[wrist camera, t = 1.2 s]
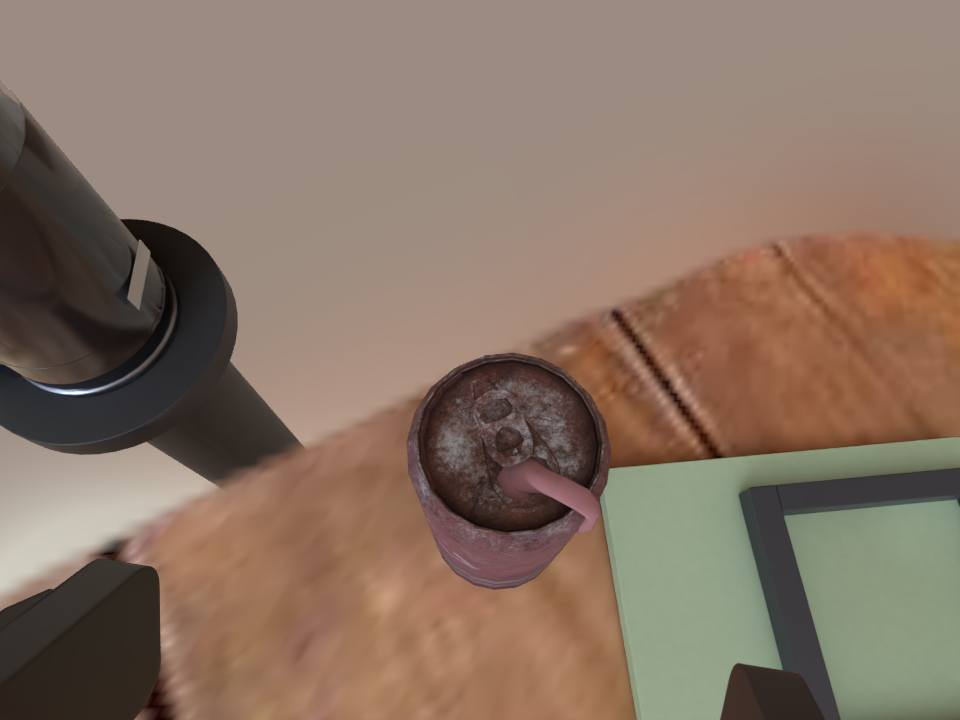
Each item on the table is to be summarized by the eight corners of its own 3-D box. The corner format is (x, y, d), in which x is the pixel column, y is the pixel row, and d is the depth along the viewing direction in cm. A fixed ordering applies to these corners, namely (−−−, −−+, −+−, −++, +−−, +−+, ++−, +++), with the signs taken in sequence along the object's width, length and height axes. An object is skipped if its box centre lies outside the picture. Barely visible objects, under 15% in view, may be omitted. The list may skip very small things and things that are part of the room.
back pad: (656, 839, 26) (674, 859, 24) (595, 474, 32) (605, 460, 30) (1084, 790, 27) (1145, 805, 24) (946, 443, 33) (983, 426, 31)
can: (526, 619, 30) (562, 597, 17) (410, 545, 31) (361, 473, 18) (587, 505, 32) (661, 408, 19) (476, 440, 33) (474, 308, 20)
